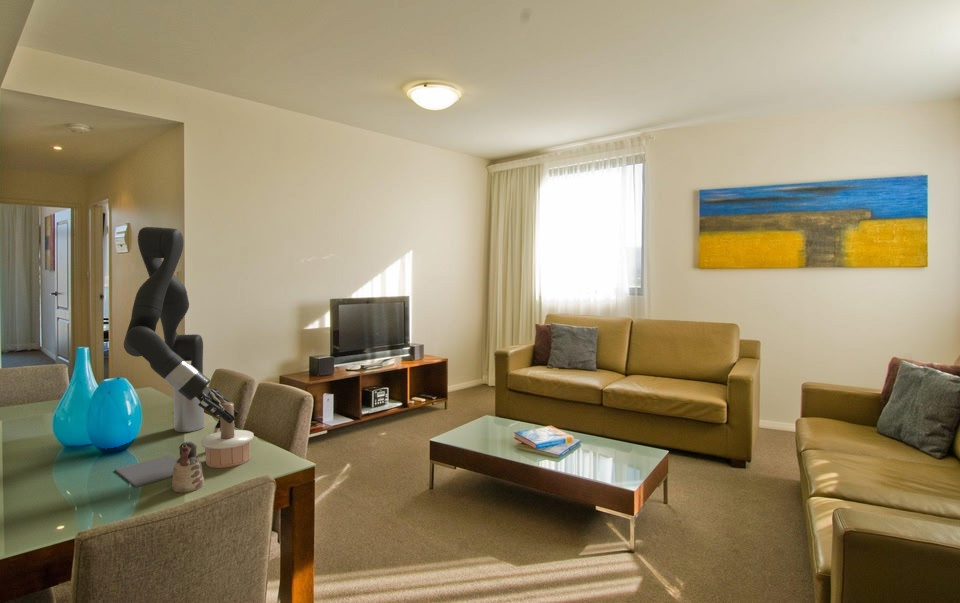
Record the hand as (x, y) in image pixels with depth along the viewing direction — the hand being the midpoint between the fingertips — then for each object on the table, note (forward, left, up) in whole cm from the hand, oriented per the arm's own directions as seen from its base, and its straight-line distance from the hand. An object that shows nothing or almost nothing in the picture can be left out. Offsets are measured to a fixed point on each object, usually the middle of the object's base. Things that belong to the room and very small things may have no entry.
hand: (234, 418), depth 154 cm
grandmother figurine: (-14, +3, -13) cm, 19 cm away
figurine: (+10, -17, -13) cm, 23 cm away
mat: (-9, -19, -13) cm, 24 cm away
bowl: (-1, -2, -13) cm, 13 cm away
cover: (-1, -2, -7) cm, 7 cm away
